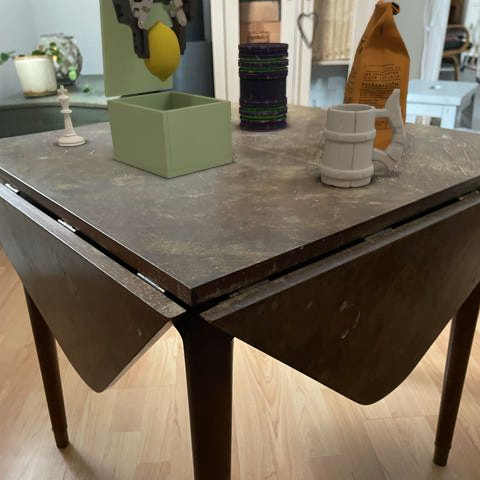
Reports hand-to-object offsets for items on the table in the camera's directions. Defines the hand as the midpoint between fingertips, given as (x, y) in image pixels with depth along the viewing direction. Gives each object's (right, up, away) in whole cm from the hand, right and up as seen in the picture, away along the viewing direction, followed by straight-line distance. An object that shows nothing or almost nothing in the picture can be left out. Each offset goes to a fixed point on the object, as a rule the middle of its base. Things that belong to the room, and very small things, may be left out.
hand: (161, 56), depth 79 cm
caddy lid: (-4, +5, +4) cm, 7 cm away
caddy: (0, -13, +9) cm, 16 cm away
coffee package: (+33, -10, +12) cm, 37 cm away
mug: (+29, -19, -2) cm, 34 cm away
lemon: (0, -3, +2) cm, 4 cm away
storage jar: (+16, +1, +31) cm, 35 cm away
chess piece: (-20, -6, +22) cm, 30 cm away
